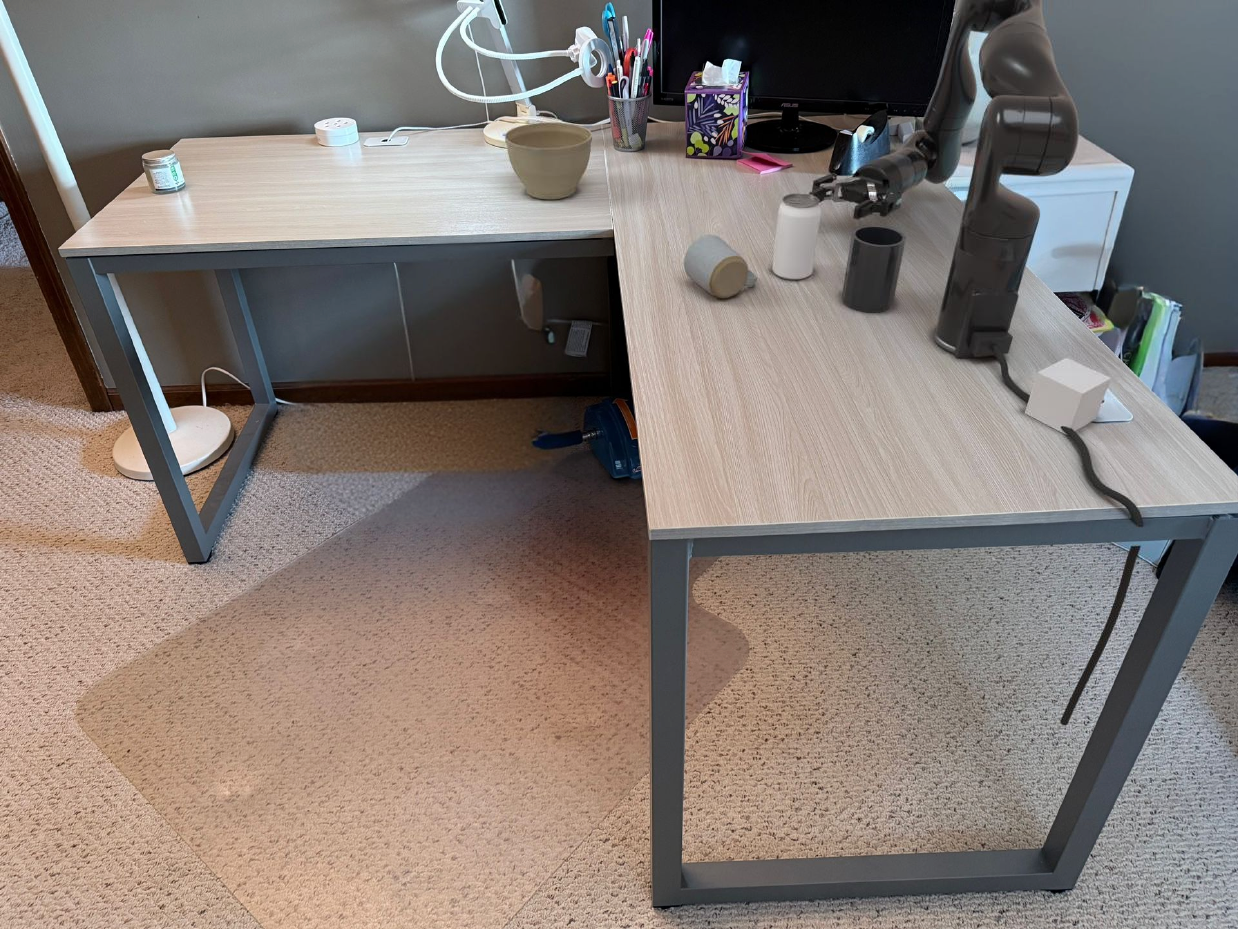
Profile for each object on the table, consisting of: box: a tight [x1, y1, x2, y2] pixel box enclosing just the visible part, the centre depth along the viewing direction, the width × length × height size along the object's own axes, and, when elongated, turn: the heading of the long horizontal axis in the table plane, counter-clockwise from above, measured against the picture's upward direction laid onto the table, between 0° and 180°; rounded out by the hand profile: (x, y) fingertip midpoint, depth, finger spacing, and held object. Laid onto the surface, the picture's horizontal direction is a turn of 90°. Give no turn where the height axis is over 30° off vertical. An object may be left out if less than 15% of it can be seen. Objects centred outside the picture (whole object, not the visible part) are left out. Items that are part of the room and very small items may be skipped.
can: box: [771, 192, 822, 281], centre depth 143 cm, size 6×6×12 cm
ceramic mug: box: [683, 234, 758, 299], centre depth 140 cm, size 11×8×8 cm
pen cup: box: [841, 225, 907, 314], centre depth 135 cm, size 8×8×10 cm
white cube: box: [1024, 357, 1112, 436], centre depth 112 cm, size 6×6×6 cm
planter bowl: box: [504, 121, 593, 200], centre depth 172 cm, size 16×16×11 cm
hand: (832, 206), depth 148 cm, fingers open, 8 cm apart
